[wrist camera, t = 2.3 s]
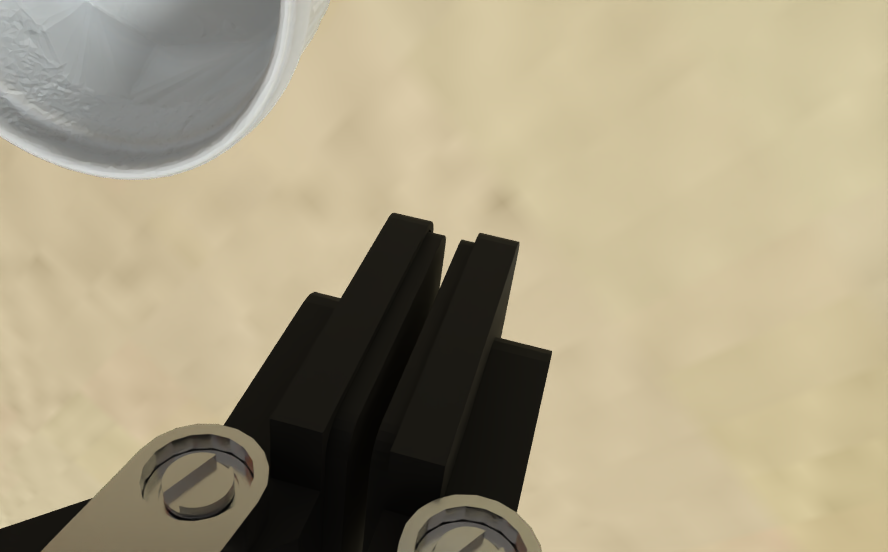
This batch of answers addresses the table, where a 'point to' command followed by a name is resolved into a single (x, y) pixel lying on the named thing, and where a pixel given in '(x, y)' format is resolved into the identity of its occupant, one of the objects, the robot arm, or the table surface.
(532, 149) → the table surface
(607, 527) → the table surface
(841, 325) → the table surface
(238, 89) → the ramekin
